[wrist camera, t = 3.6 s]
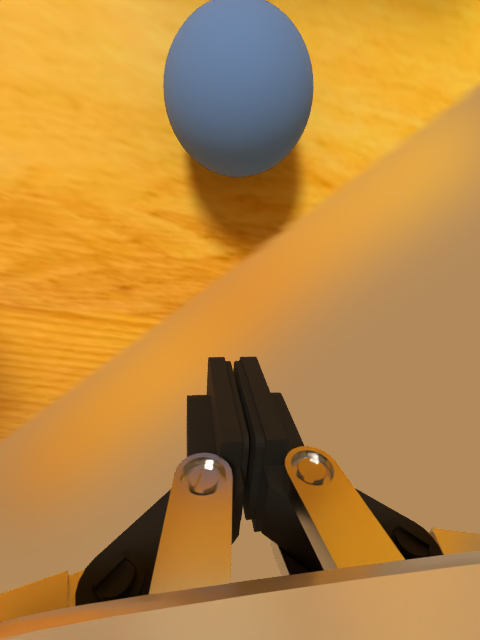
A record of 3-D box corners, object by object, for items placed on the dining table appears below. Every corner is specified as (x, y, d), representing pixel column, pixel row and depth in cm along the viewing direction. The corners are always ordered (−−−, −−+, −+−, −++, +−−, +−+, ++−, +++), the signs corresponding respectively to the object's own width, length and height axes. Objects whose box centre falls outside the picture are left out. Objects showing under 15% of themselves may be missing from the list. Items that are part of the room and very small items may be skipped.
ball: (298, 40, 15) (356, -28, 10) (281, 179, 18) (320, 185, 12) (167, 21, 14) (153, -67, 9) (169, 170, 17) (159, 172, 11)
